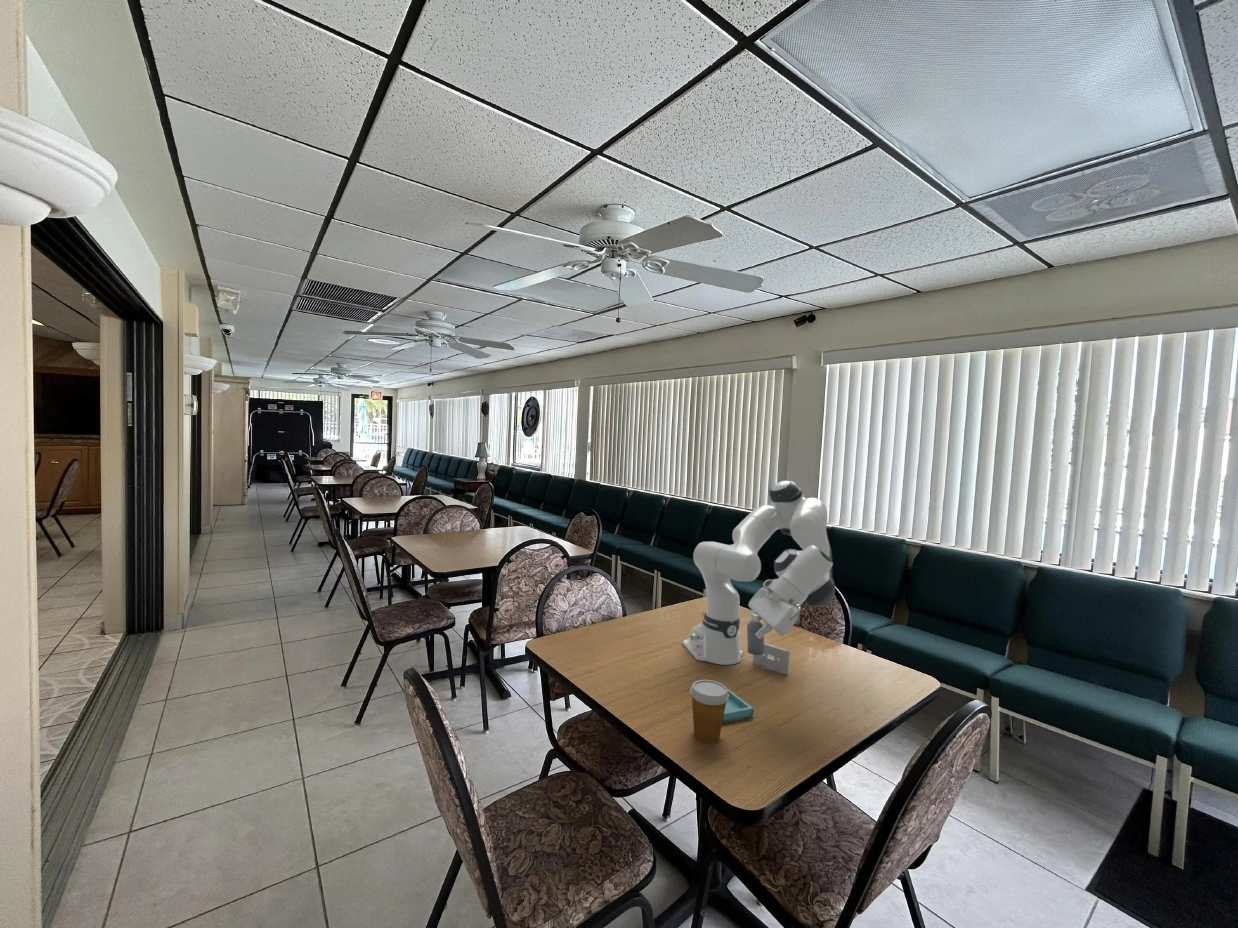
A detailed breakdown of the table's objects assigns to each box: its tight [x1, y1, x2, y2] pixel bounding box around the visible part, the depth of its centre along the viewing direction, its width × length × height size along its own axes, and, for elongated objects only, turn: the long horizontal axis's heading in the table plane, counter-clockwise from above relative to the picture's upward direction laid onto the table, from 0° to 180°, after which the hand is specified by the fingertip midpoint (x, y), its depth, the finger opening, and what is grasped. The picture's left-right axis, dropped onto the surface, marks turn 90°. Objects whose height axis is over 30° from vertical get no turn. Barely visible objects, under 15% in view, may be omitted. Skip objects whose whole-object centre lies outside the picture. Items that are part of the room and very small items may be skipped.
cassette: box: [752, 642, 790, 675], centre depth 166 cm, size 12×2×8 cm, turn 50°
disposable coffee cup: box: [689, 679, 729, 743], centre depth 124 cm, size 10×10×12 cm
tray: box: [722, 688, 754, 724], centre depth 137 cm, size 12×10×2 cm
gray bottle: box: [746, 612, 765, 655], centre depth 137 cm, size 4×4×10 cm
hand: (752, 632), depth 137 cm, fingers closed on gray bottle, 4 cm apart
